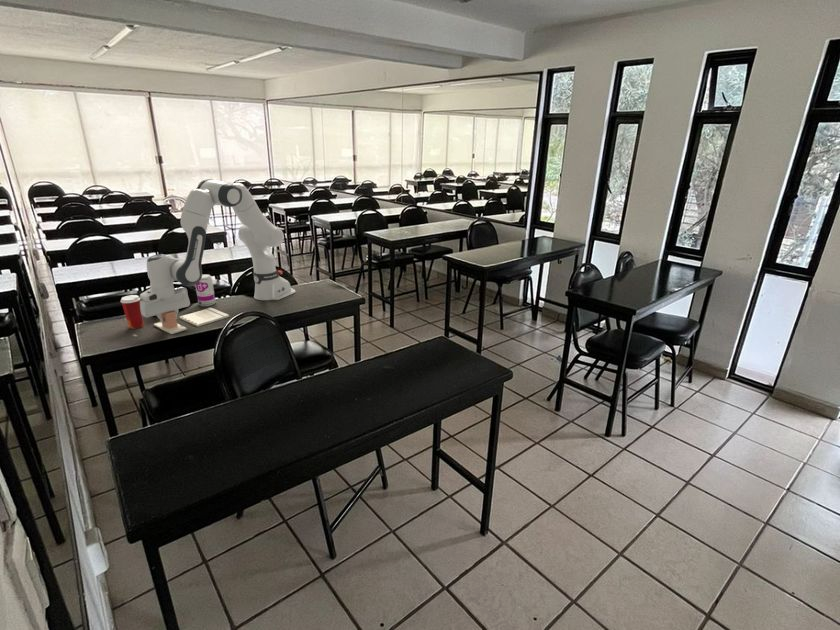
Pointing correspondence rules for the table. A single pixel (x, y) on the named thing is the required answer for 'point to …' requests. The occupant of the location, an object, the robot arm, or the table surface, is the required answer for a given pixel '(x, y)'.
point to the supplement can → (205, 291)
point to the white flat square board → (204, 317)
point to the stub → (170, 323)
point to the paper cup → (132, 311)
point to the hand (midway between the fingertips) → (168, 320)
